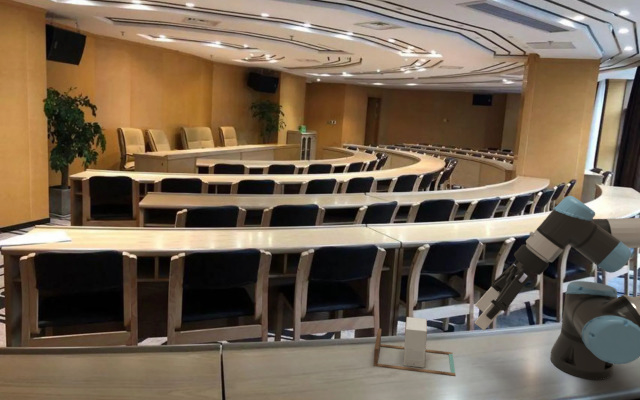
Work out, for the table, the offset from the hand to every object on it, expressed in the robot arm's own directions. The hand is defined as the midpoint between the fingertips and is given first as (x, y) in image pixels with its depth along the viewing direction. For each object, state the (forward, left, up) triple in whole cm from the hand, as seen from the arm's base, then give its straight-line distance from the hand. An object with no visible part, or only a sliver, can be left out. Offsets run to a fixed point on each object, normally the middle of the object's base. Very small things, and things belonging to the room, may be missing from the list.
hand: (479, 317), depth 126 cm
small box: (+15, -5, -17) cm, 23 cm away
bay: (+15, -5, -16) cm, 23 cm away
